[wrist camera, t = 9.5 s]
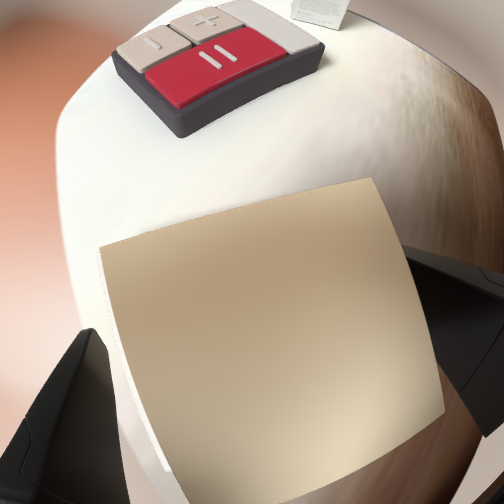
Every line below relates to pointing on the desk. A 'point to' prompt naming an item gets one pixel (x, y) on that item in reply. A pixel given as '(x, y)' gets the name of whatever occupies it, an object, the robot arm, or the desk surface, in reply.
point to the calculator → (214, 62)
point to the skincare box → (320, 12)
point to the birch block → (275, 342)
